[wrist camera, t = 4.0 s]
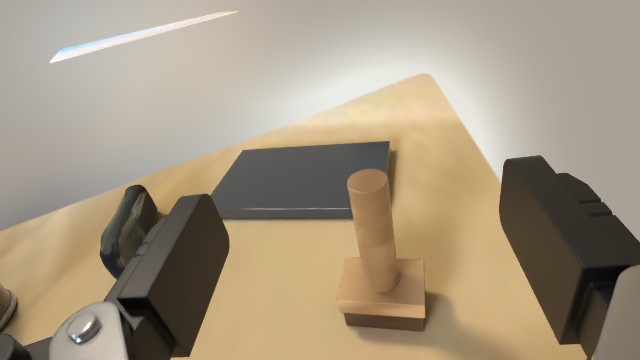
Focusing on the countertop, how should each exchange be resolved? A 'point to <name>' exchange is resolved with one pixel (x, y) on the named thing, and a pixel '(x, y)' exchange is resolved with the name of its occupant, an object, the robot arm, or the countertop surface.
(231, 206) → the slate board
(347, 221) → the countertop surface
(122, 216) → the dark green rounded bar
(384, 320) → the brush
